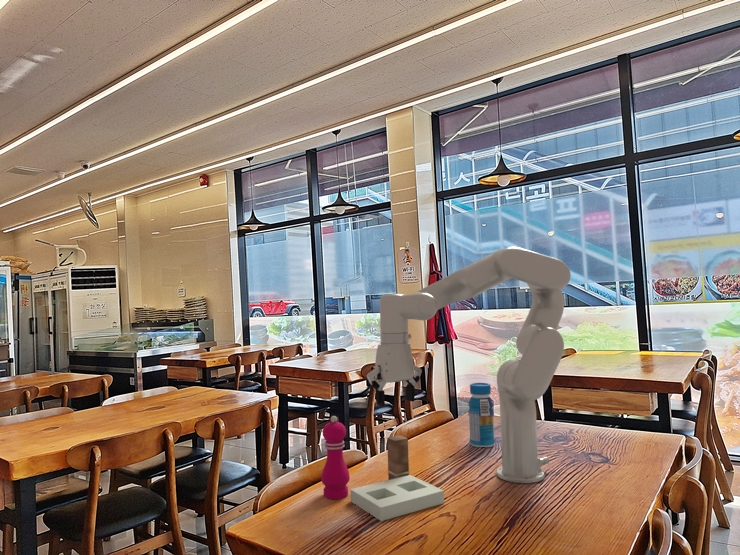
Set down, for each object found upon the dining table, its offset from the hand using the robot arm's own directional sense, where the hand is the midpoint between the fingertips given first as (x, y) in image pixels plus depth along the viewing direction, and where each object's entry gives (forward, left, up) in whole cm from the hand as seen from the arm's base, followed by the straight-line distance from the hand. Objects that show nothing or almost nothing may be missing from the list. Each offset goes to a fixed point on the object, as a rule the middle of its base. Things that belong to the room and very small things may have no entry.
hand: (395, 402), depth 145 cm
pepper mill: (+18, -2, -22) cm, 28 cm away
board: (+8, +11, -21) cm, 25 cm away
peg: (0, 0, -21) cm, 21 cm away
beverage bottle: (-43, -14, -22) cm, 50 cm away
